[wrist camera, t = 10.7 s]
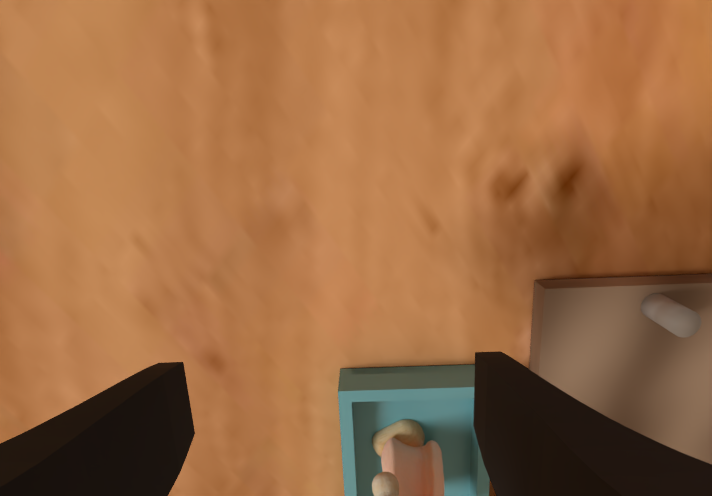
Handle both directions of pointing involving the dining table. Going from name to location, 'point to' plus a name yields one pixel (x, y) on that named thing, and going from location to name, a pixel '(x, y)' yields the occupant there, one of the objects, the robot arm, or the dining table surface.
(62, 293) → the dining table surface
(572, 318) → the board
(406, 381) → the tray
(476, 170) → the dining table surface
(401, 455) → the grandmother figurine
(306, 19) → the dining table surface
